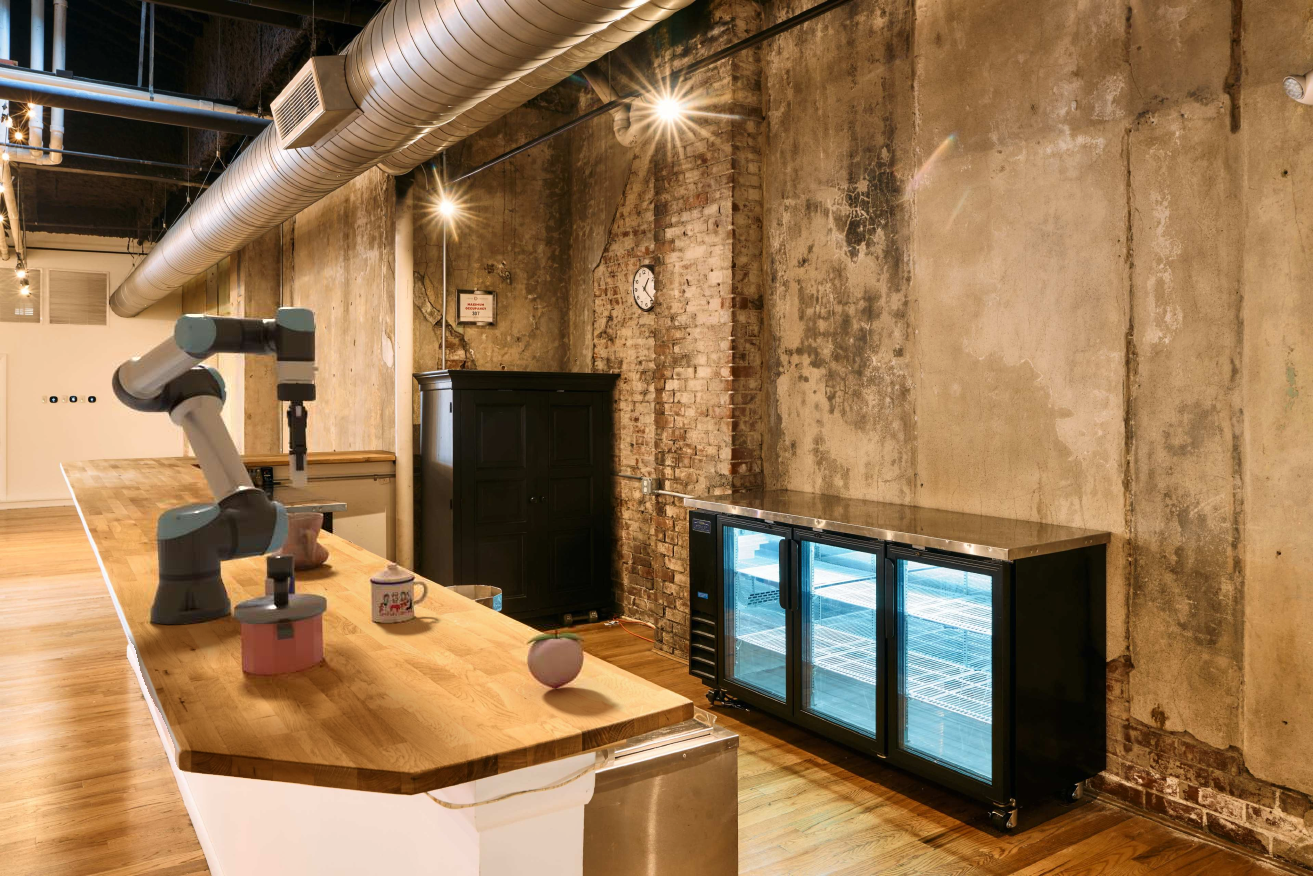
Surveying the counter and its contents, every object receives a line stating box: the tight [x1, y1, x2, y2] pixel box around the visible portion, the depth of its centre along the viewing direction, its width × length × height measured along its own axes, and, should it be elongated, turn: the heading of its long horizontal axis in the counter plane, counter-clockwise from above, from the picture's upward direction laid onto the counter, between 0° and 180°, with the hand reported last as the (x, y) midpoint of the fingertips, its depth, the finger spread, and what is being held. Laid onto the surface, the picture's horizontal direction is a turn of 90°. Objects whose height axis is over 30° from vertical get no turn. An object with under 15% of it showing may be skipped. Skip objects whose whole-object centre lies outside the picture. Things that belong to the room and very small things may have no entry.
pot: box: [240, 613, 324, 676], centre depth 151 cm, size 21×13×9 cm, turn 27°
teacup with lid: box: [369, 562, 429, 624], centre depth 181 cm, size 12×9×12 cm
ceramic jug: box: [271, 512, 330, 570], centre depth 230 cm, size 18×14×14 cm
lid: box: [233, 554, 328, 624], centre depth 150 cm, size 15×15×10 cm
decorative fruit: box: [526, 627, 586, 689], centre depth 138 cm, size 9×8×10 cm
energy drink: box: [264, 575, 296, 597], centre depth 167 cm, size 5×5×12 cm
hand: (298, 483), depth 180 cm, fingers open, 13 cm apart
